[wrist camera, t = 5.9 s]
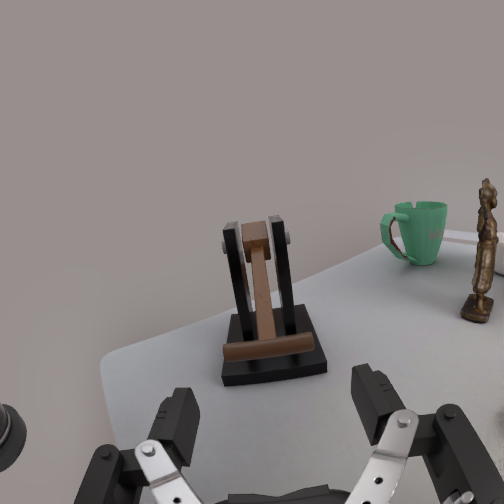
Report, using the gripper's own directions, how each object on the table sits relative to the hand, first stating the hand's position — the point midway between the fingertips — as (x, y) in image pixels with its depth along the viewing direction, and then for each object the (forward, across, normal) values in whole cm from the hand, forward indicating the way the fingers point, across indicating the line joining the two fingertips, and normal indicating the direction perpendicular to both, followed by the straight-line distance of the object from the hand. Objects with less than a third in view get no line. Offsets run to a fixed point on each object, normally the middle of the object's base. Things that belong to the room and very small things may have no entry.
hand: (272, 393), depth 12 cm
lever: (+10, 0, -1) cm, 10 cm away
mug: (+30, -26, +7) cm, 40 cm away
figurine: (+10, -24, +7) cm, 27 cm away
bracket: (+14, 0, +6) cm, 16 cm away
